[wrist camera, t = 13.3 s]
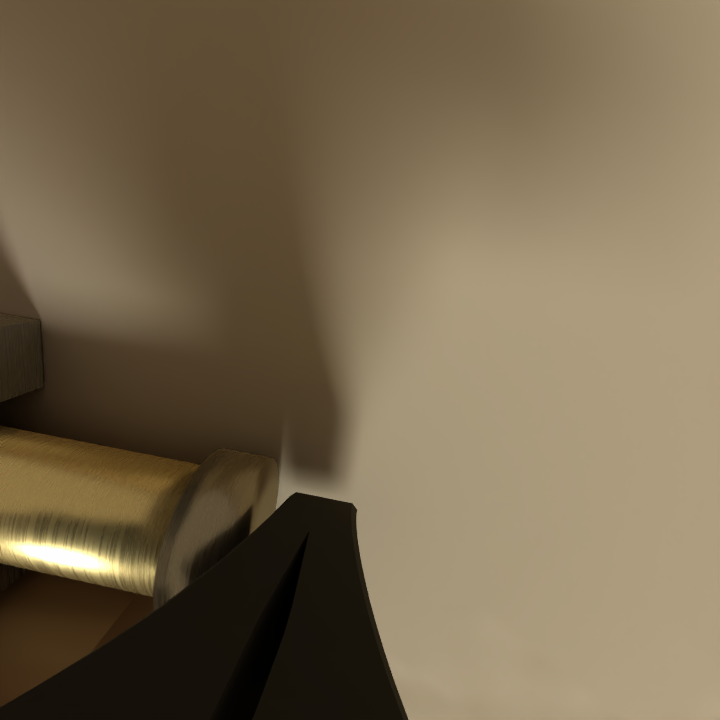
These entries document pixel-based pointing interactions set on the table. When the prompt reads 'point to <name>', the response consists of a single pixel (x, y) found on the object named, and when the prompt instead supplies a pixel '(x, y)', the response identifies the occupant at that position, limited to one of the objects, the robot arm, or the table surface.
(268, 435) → the table surface
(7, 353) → the pin mount
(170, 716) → the robot arm
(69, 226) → the table surface
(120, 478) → the lock pin
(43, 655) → the dock
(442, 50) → the table surface
